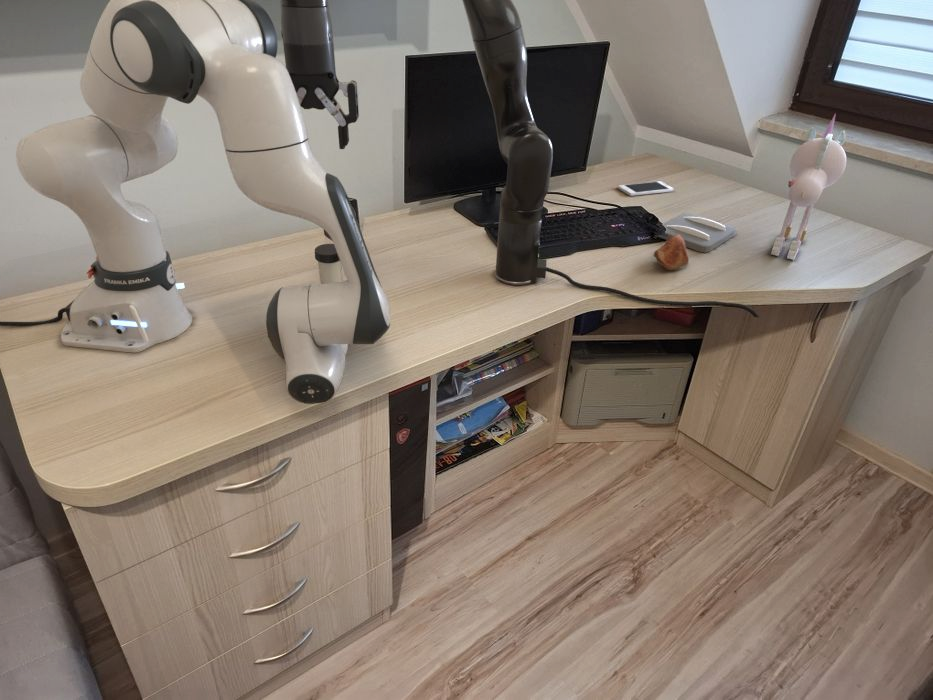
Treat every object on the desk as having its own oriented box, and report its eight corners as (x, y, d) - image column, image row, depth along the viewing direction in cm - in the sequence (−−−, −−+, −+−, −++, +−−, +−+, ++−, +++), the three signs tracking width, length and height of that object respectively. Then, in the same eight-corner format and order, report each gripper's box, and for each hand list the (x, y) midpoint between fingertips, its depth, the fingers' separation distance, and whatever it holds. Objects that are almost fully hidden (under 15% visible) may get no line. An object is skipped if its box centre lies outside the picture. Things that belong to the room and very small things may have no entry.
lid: (336, 249, 120) (335, 241, 119) (347, 259, 117) (346, 251, 116) (311, 255, 118) (310, 246, 117) (321, 265, 114) (320, 257, 113)
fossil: (662, 265, 143) (667, 221, 144) (634, 267, 151) (640, 225, 151) (699, 275, 150) (704, 233, 150) (671, 277, 157) (676, 237, 157)
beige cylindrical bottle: (341, 317, 128) (334, 245, 119) (349, 326, 125) (343, 253, 116) (321, 322, 126) (313, 249, 117) (329, 331, 123) (322, 258, 114)
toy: (826, 222, 178) (867, 110, 161) (806, 269, 152) (852, 142, 135) (779, 212, 183) (814, 103, 167) (751, 256, 157) (789, 132, 141)
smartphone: (617, 188, 196) (618, 185, 196) (659, 183, 201) (660, 180, 200) (630, 196, 191) (630, 193, 190) (673, 191, 196) (674, 188, 195)
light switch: (708, 241, 156) (653, 223, 165) (705, 253, 158) (650, 234, 167) (740, 223, 167) (687, 206, 176) (737, 234, 169) (684, 217, 178)
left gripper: (383, 319, 109) (386, 281, 120) (261, 320, 107) (276, 281, 119) (384, 350, 112) (387, 310, 124) (266, 351, 111) (280, 311, 122)
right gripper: (358, 36, 100) (364, 142, 109) (266, 33, 100) (280, 139, 109) (351, 44, 94) (358, 155, 103) (254, 40, 94) (269, 152, 103)
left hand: (332, 296), depth 121 cm, fingers open, 8 cm apart
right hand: (318, 147), depth 106 cm, fingers open, 7 cm apart
